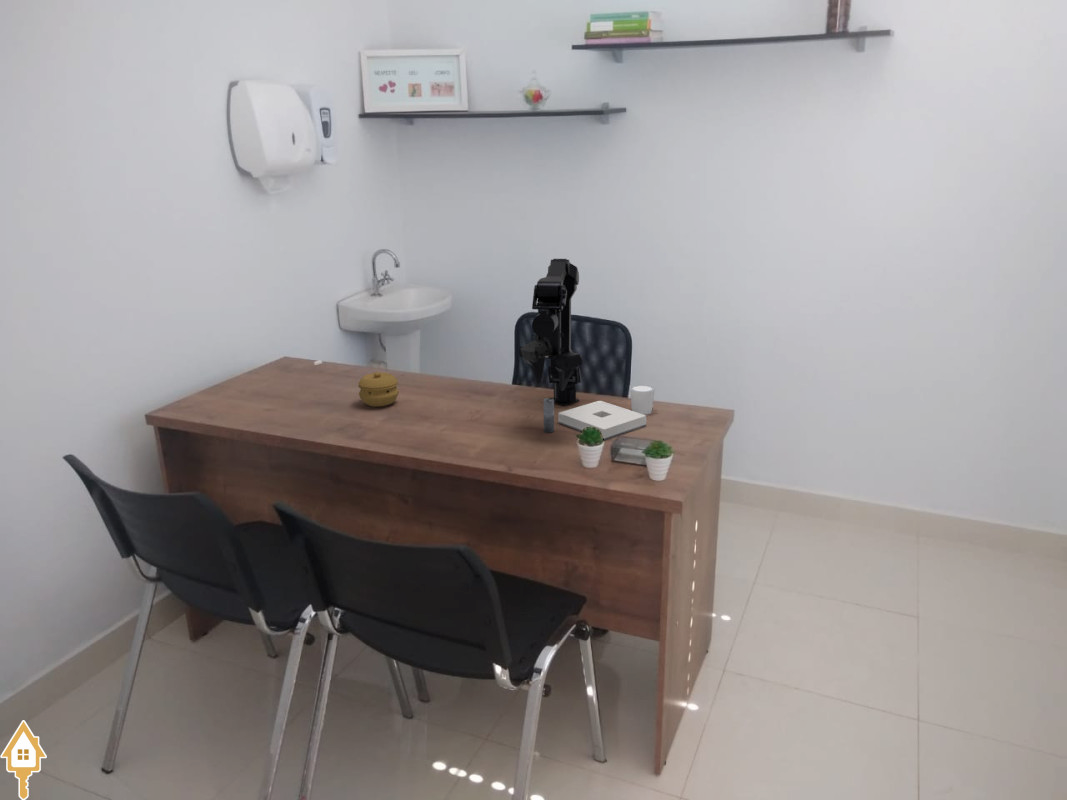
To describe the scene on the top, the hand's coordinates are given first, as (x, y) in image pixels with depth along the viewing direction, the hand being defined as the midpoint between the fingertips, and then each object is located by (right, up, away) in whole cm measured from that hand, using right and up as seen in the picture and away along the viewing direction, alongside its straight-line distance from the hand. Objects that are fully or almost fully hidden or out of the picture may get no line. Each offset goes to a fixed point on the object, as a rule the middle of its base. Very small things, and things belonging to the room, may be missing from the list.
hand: (550, 387), depth 219 cm
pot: (-51, -5, +29) cm, 58 cm away
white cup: (+27, -7, +18) cm, 33 cm away
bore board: (+14, -10, +8) cm, 19 cm away
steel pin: (0, -12, +4) cm, 12 cm away
